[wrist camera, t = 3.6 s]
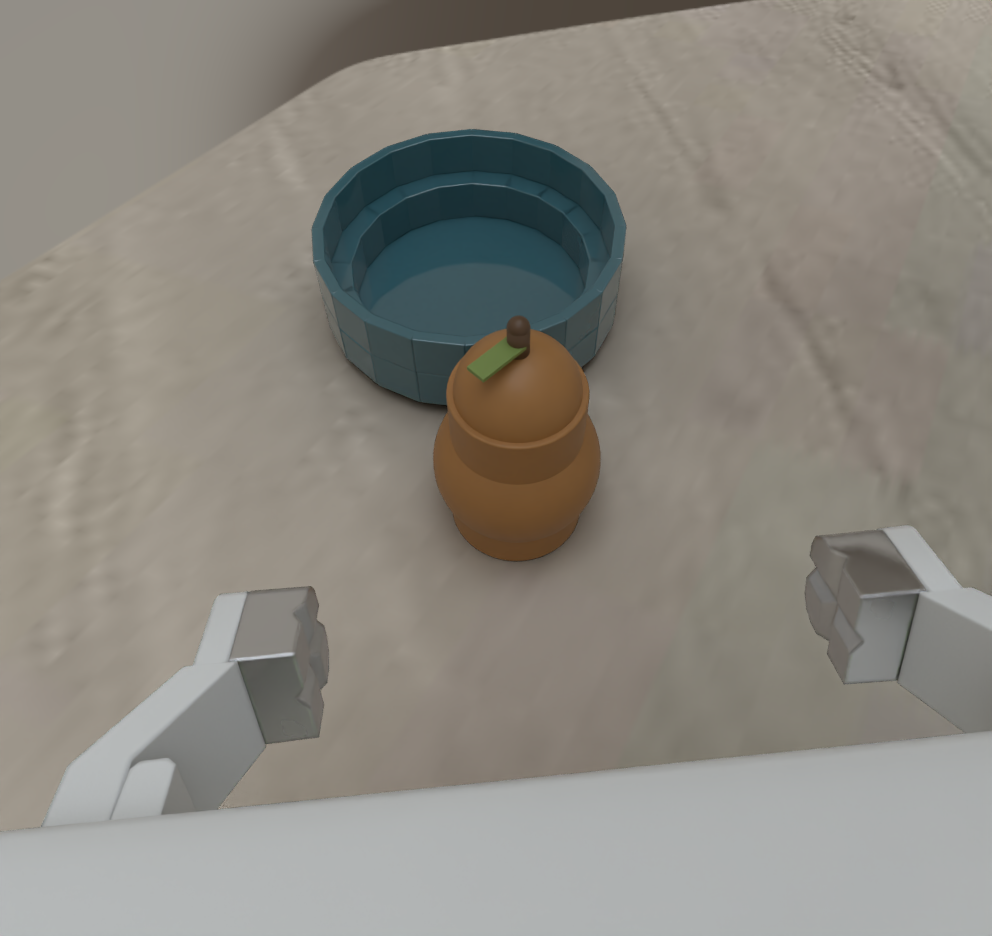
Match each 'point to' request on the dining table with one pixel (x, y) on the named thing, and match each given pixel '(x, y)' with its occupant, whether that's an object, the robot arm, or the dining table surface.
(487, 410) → the pear
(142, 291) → the dining table surface
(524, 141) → the bowl
